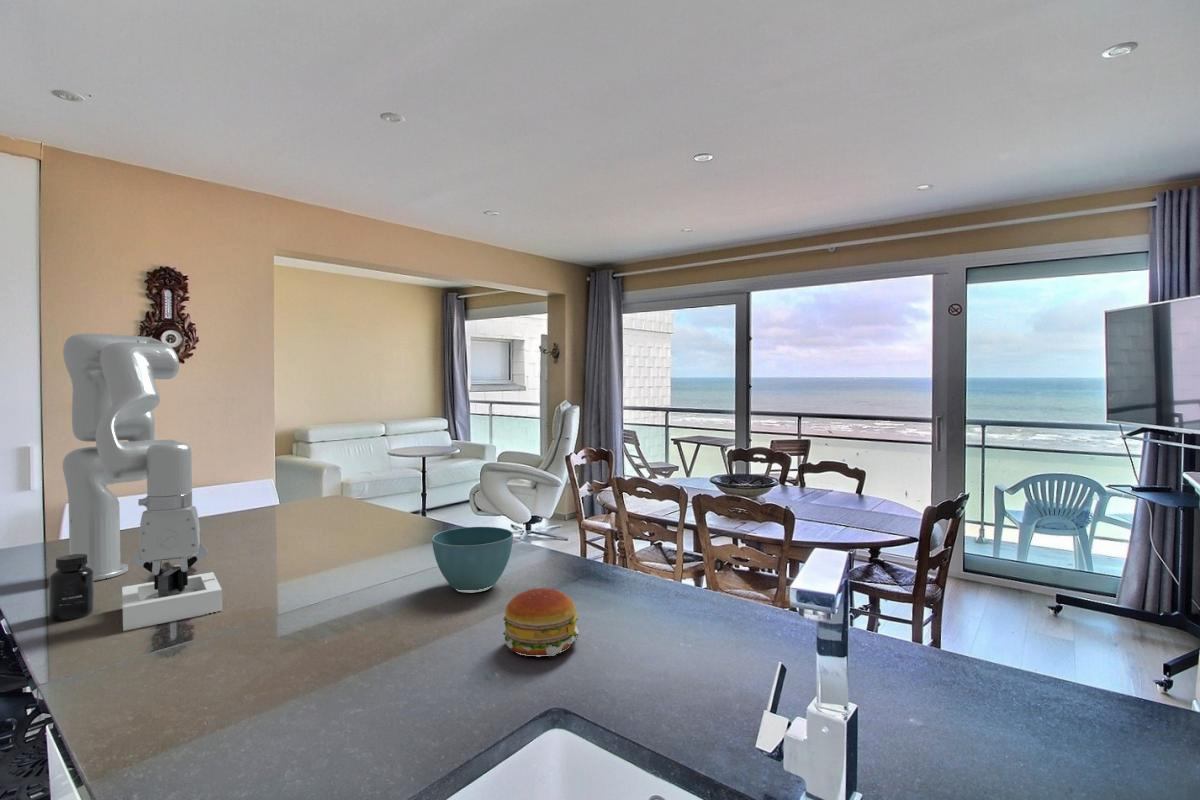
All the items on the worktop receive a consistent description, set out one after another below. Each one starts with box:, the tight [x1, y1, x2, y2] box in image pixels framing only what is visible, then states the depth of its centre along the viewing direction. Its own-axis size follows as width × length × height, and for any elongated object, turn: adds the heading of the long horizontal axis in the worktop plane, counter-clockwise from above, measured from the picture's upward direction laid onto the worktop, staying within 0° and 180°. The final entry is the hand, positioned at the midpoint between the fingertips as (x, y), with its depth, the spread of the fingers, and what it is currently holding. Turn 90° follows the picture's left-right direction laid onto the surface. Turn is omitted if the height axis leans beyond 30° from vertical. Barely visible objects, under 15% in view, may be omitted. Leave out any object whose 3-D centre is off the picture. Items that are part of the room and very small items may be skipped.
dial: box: [145, 564, 198, 600], centre depth 124 cm, size 9×9×7 cm
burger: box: [502, 587, 580, 657], centre depth 106 cm, size 13×14×10 cm
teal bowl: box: [431, 526, 514, 590], centre depth 137 cm, size 18×18×12 cm
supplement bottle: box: [48, 554, 95, 622], centre depth 121 cm, size 7×7×12 cm
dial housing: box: [121, 571, 223, 632], centre depth 124 cm, size 15×16×5 cm
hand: (171, 590), depth 124 cm, fingers closed on dial, 2 cm apart
